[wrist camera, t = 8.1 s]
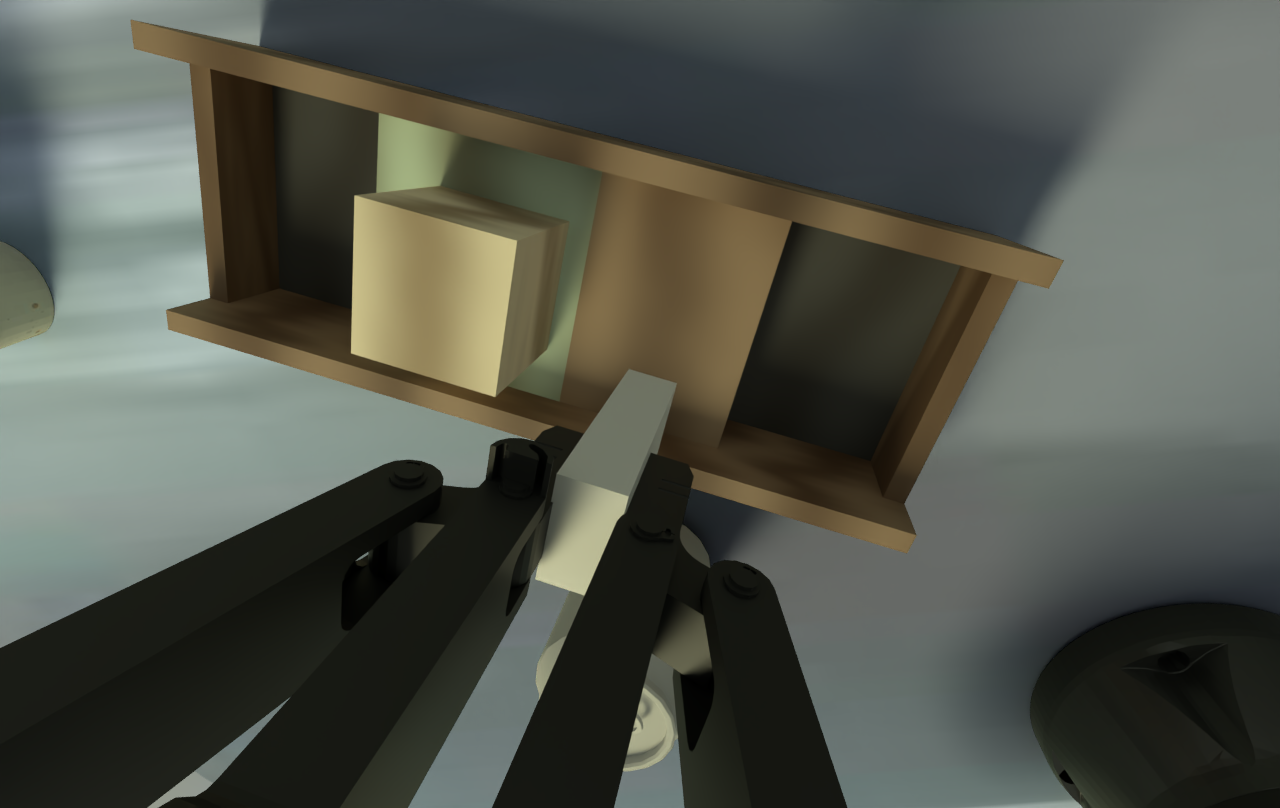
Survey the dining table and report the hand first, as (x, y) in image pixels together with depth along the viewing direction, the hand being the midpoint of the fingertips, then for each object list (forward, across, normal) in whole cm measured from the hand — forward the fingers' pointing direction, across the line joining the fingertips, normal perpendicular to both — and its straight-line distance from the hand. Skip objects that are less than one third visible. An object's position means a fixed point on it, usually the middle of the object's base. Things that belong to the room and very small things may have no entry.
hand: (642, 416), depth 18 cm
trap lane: (+13, +6, -1) cm, 15 cm away
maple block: (+9, +9, 0) cm, 13 cm away
